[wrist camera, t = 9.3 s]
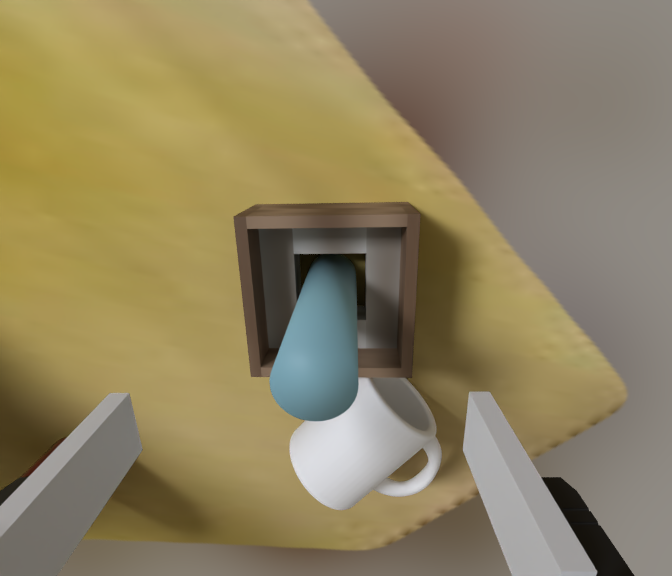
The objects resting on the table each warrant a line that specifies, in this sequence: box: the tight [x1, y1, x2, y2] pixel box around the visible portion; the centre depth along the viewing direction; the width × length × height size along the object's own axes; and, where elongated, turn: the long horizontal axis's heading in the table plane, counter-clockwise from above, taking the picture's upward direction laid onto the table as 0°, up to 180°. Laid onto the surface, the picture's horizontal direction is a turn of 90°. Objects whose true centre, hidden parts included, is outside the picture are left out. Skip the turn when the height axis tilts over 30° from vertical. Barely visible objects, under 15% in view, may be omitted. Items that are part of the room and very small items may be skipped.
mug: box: [290, 377, 442, 510], centre depth 33 cm, size 12×10×8 cm
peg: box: [270, 254, 359, 421], centre depth 25 cm, size 4×4×16 cm
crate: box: [234, 202, 420, 378], centre depth 30 cm, size 12×12×6 cm
